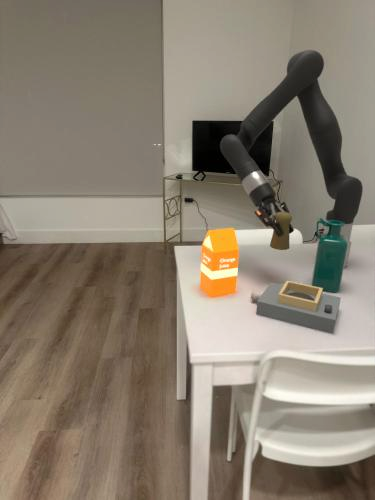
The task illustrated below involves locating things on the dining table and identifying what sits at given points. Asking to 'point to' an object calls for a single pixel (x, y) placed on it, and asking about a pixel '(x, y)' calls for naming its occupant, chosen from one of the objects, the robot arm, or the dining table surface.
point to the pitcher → (329, 257)
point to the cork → (284, 222)
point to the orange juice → (219, 263)
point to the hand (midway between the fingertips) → (286, 233)
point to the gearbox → (298, 305)
